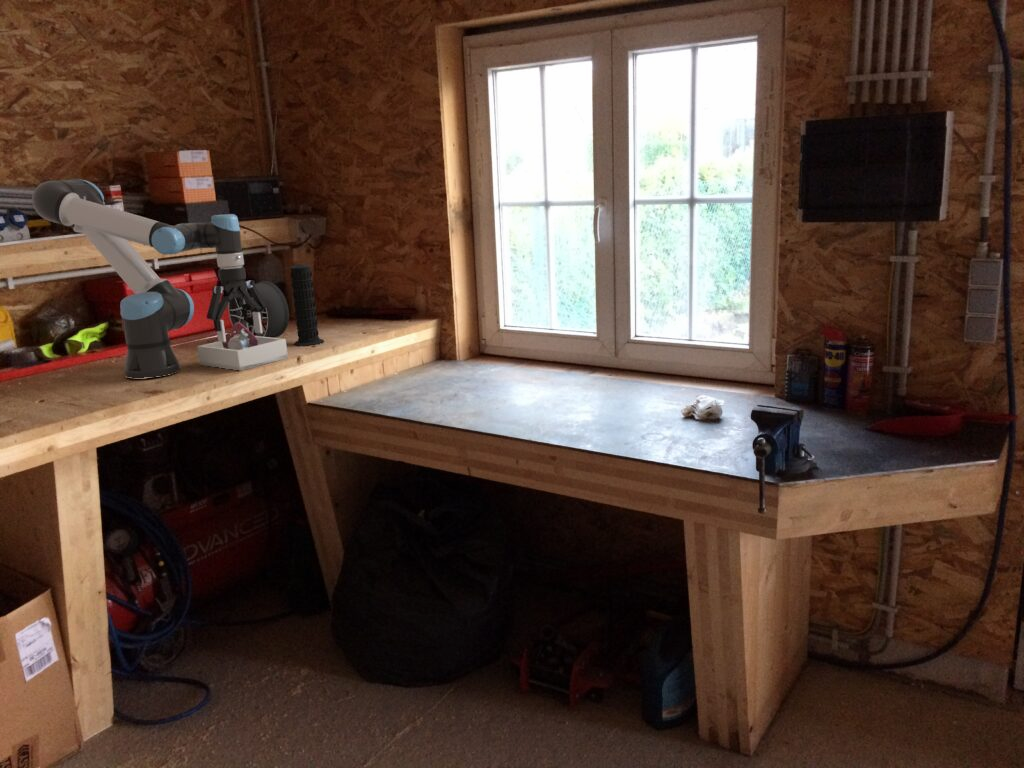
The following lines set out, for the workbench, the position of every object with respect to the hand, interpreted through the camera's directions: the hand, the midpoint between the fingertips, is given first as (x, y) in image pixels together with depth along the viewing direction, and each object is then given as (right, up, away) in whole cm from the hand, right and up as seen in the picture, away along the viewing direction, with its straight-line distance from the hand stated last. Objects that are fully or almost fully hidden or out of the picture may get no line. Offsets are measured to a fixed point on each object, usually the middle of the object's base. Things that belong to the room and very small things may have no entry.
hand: (240, 337), depth 261 cm
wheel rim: (-4, +1, +35) cm, 35 cm away
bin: (0, -7, +2) cm, 8 cm away
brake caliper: (0, -7, +2) cm, 7 cm away
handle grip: (+15, -1, +25) cm, 29 cm away
